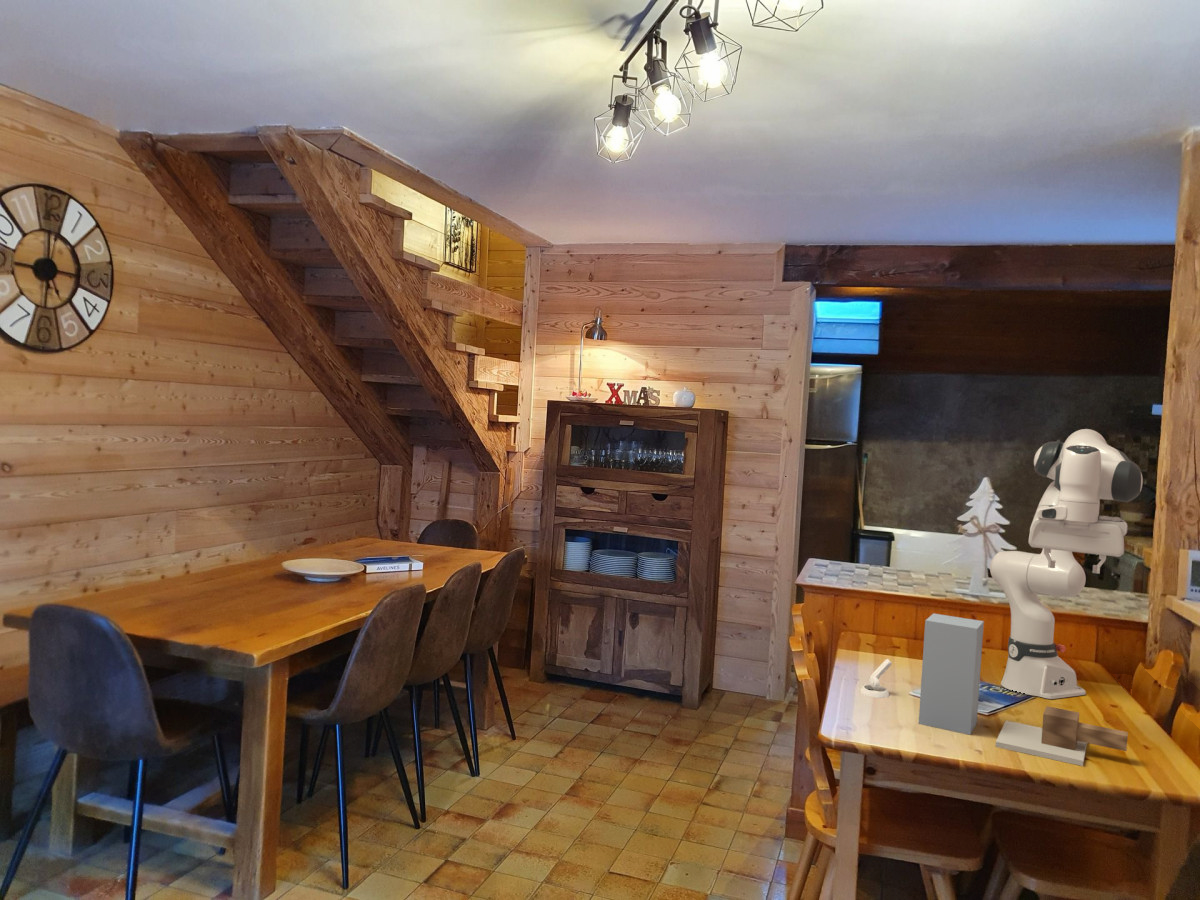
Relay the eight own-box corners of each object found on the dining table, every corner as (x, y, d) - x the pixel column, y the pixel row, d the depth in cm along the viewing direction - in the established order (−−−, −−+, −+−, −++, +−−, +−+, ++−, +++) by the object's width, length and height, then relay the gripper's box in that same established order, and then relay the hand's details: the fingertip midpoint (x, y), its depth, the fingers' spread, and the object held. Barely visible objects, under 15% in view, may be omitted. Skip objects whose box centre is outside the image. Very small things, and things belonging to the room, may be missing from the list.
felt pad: (1087, 742, 211) (1087, 737, 211) (1082, 766, 196) (1083, 760, 196) (1005, 725, 220) (1005, 720, 220) (995, 746, 205) (995, 741, 205)
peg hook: (1126, 752, 202) (1128, 722, 202) (1125, 761, 196) (1128, 730, 196) (1044, 734, 211) (1046, 706, 211) (1041, 743, 205) (1043, 713, 205)
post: (976, 723, 221) (983, 621, 219) (970, 734, 212) (977, 628, 211) (926, 712, 227) (933, 613, 226) (918, 723, 218) (925, 620, 217)
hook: (912, 681, 237) (894, 667, 235) (882, 713, 239) (864, 699, 237) (901, 667, 244) (883, 653, 242) (871, 698, 246) (854, 685, 244)
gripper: (1128, 516, 208) (1123, 574, 208) (1032, 508, 218) (1028, 563, 219) (1128, 518, 202) (1123, 578, 203) (1029, 509, 213) (1025, 566, 213)
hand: (1073, 570), depth 211 cm, fingers open, 8 cm apart
